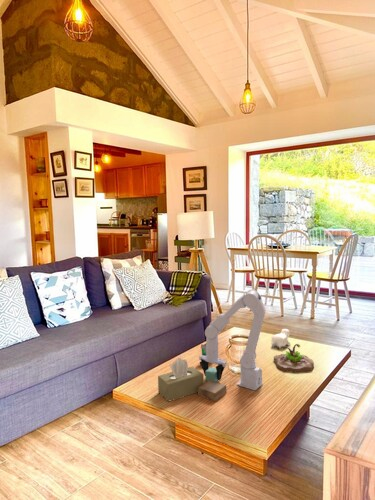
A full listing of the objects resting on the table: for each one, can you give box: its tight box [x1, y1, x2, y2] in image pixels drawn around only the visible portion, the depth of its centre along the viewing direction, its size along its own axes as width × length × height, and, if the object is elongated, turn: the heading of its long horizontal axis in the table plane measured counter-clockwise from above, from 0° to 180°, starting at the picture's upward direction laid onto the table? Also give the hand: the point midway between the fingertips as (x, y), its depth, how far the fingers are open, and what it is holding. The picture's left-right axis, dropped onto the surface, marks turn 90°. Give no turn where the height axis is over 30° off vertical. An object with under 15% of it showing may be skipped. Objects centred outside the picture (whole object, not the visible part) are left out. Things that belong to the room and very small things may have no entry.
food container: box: [200, 343, 206, 356], centre depth 197 cm, size 12×6×10 cm, turn 143°
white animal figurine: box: [270, 328, 291, 350], centre depth 217 cm, size 9×8×15 cm
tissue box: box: [157, 357, 205, 402], centre depth 162 cm, size 19×10×16 cm, turn 121°
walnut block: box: [197, 380, 227, 402], centre depth 159 cm, size 9×9×4 cm
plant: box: [273, 343, 315, 373], centre depth 188 cm, size 20×20×11 cm
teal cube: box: [204, 367, 219, 382], centre depth 173 cm, size 5×5×5 cm
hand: (212, 377), depth 173 cm, fingers open, 7 cm apart
